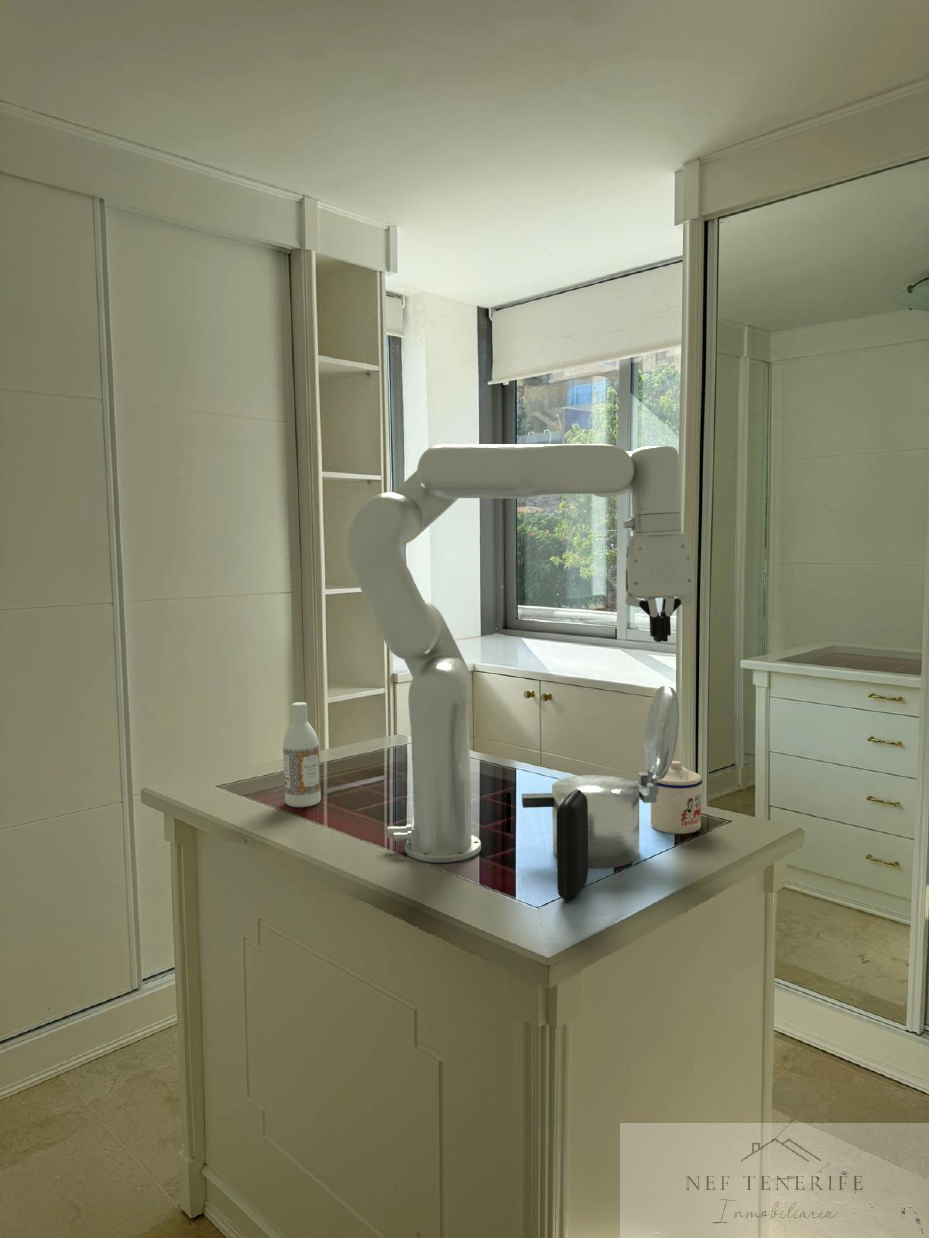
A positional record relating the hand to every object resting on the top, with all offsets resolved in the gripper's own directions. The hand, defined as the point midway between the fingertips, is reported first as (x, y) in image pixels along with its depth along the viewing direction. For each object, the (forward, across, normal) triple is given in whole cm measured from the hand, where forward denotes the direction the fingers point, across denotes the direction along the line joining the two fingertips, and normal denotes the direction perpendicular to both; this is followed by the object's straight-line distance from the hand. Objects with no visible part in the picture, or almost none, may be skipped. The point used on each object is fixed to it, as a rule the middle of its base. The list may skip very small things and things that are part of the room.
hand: (660, 640), depth 143 cm
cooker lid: (+15, -1, 0) cm, 15 cm away
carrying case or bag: (+34, -18, -16) cm, 42 cm away
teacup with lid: (+35, +5, +13) cm, 38 cm away
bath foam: (+33, -65, +32) cm, 79 cm away
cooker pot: (+34, -13, 0) cm, 37 cm away
